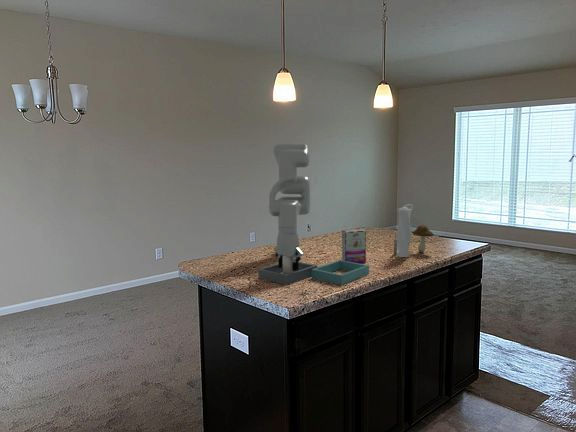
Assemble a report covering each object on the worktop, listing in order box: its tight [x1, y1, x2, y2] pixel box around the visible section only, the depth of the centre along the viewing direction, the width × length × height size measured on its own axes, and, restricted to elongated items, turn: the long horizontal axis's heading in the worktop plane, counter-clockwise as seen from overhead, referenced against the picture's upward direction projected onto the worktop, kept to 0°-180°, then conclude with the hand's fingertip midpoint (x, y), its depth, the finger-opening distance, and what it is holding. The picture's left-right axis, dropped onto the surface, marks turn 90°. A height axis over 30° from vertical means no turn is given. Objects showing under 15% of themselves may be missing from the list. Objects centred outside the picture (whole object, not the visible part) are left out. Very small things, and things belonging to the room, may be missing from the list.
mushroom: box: [412, 224, 434, 253], centre depth 250 cm, size 9×11×15 cm
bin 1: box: [257, 261, 318, 286], centre depth 205 cm, size 16×22×4 cm
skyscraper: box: [392, 203, 414, 259], centre depth 241 cm, size 8×8×28 cm
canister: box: [282, 256, 295, 275], centre depth 205 cm, size 5×5×10 cm
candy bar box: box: [341, 228, 367, 264], centre depth 229 cm, size 11×5×16 cm, turn 105°
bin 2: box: [311, 259, 370, 286], centre depth 205 cm, size 16×22×4 cm
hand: (288, 268), depth 205 cm, fingers open, 7 cm apart
